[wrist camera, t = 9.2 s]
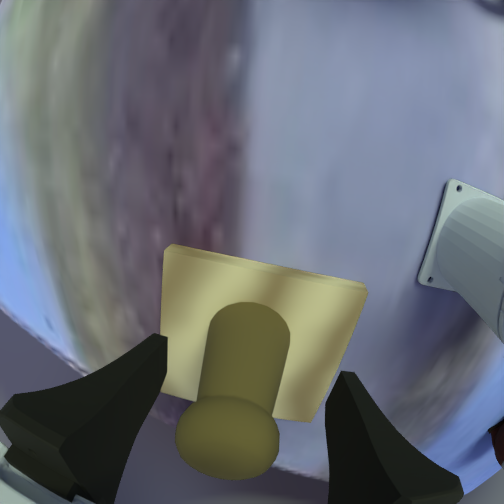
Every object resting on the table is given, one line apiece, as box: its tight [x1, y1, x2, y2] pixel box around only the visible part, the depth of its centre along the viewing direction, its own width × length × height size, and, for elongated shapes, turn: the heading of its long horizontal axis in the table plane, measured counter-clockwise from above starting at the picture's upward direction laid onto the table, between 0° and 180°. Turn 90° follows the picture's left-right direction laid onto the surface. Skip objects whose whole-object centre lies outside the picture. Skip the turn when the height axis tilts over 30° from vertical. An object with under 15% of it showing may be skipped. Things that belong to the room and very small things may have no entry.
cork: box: [175, 302, 290, 480], centre depth 17 cm, size 6×6×11 cm
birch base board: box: [160, 244, 368, 423], centre depth 23 cm, size 14×14×2 cm
